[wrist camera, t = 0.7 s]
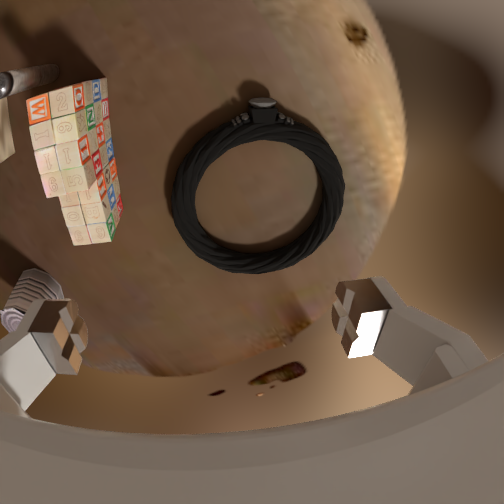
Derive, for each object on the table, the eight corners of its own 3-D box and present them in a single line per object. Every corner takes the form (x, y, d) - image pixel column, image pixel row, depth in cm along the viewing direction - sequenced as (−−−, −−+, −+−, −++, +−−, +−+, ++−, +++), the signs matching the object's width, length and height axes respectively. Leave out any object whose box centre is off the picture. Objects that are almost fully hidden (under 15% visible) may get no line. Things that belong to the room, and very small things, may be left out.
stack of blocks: (125, 209, 44) (106, 256, 35) (90, 213, 44) (65, 259, 34) (106, 76, 32) (71, 84, 22) (67, 85, 31) (24, 99, 21)
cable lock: (183, 286, 51) (156, 108, 33) (184, 272, 54) (160, 104, 36) (335, 269, 54) (361, 105, 36) (328, 257, 57) (349, 100, 39)
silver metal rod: (41, 66, 28) (-15, 78, 17) (59, 61, 28) (5, 69, 17) (42, 85, 29) (-13, 104, 18) (60, 80, 30) (7, 96, 19)
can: (63, 313, 55) (49, 357, 46) (20, 297, 51) (2, 338, 41) (66, 278, 50) (47, 324, 41) (19, 260, 46) (-5, 302, 36)
